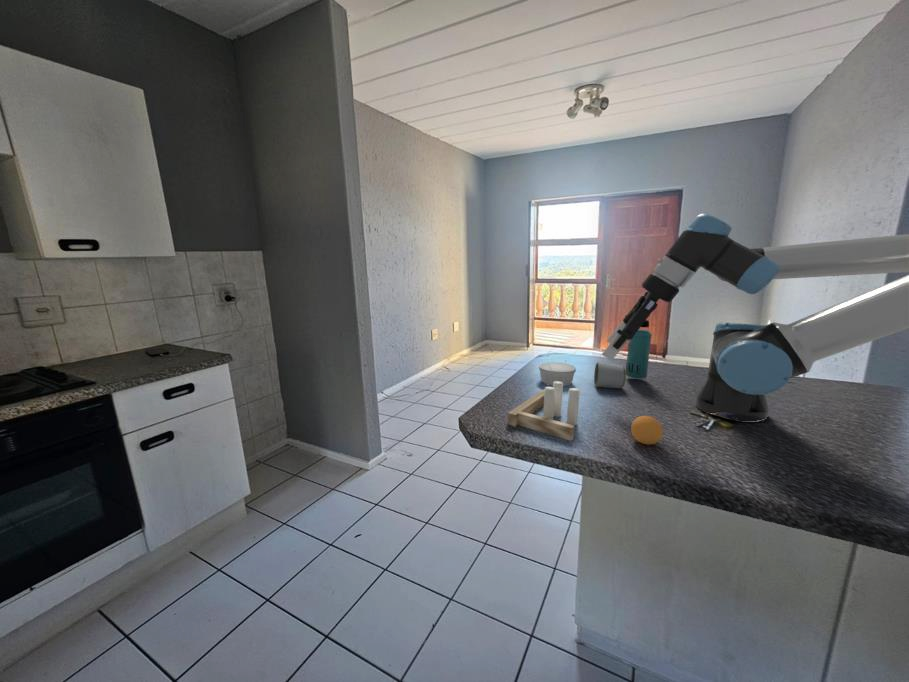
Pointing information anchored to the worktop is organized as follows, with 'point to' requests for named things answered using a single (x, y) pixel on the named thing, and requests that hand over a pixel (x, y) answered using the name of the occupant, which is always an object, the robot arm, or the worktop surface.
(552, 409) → the pin
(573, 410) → the front pin
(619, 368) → the ceramic mug
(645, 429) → the ball
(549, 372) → the ramekin
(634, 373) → the beverage bottle
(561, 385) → the pin
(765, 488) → the worktop surface
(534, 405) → the triangular peg stand
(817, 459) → the worktop surface
